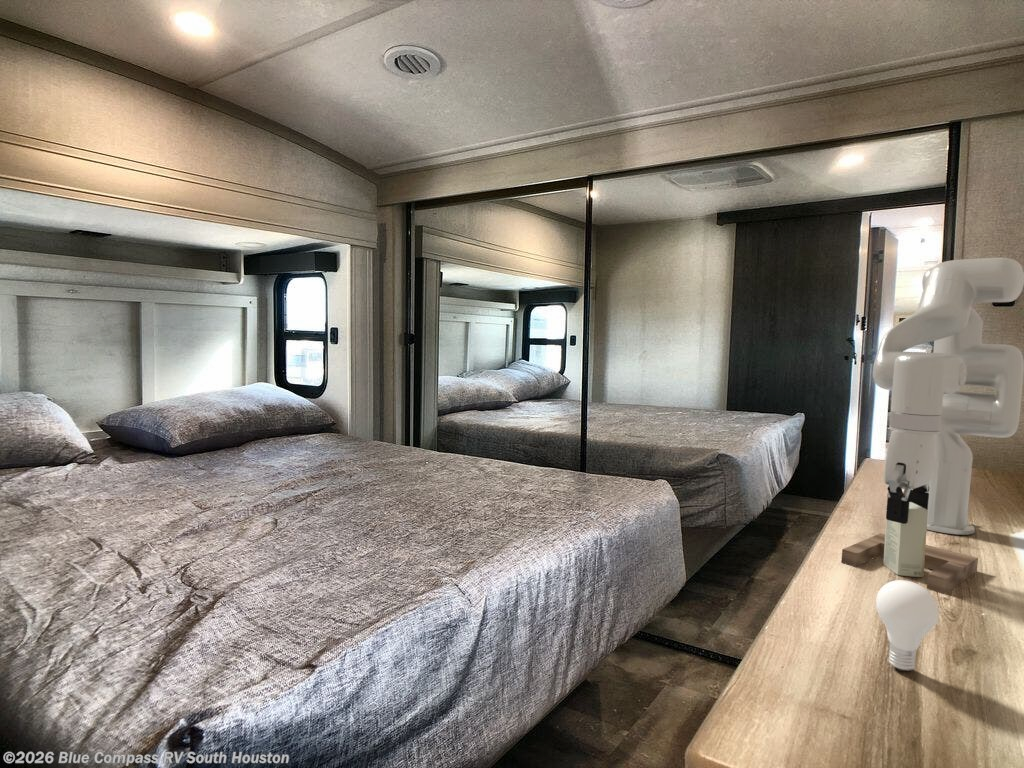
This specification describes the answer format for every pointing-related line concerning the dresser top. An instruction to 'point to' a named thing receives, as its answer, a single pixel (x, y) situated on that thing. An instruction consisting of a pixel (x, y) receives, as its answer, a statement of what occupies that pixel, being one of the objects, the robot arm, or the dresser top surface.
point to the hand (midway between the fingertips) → (906, 516)
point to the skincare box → (907, 543)
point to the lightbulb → (906, 619)
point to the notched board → (944, 563)
